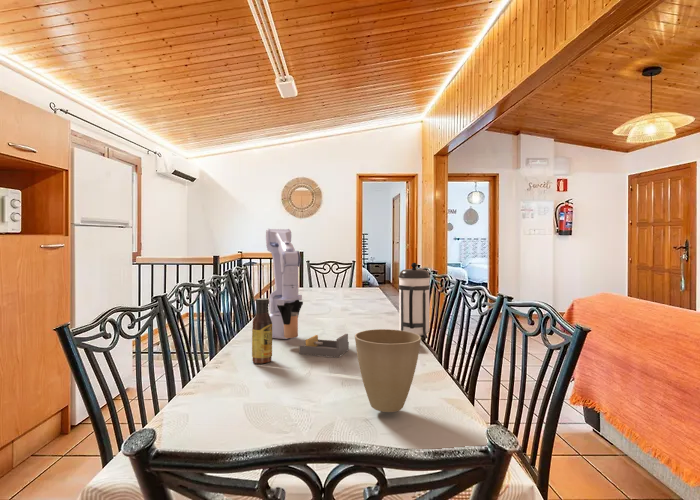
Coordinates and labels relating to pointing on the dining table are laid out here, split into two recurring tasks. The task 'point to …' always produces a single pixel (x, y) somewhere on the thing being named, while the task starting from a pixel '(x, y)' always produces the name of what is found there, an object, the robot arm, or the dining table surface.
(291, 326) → the jar
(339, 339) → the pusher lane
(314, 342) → the tan pusher block
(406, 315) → the coffee press
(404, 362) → the plant pot
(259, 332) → the sauce bottle
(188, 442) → the dining table surface
